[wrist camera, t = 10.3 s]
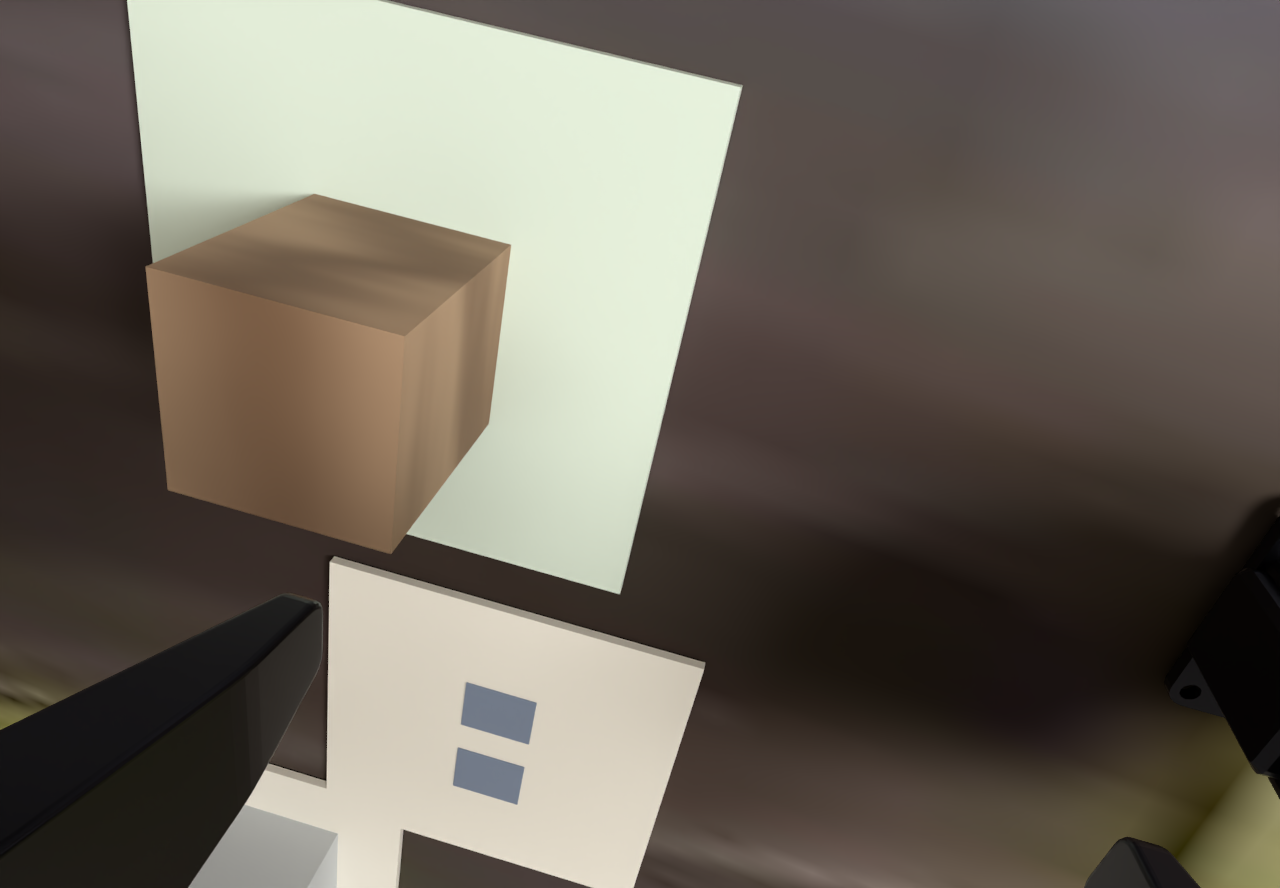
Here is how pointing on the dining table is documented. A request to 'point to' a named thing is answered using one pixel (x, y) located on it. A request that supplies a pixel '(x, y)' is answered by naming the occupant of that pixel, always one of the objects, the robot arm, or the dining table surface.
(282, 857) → the grey block
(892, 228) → the dining table surface
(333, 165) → the sage pad
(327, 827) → the tile
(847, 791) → the dining table surface
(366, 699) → the tile
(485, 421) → the walnut block
